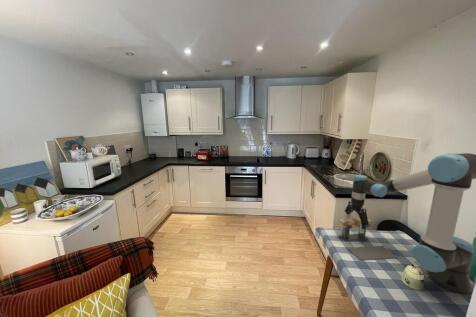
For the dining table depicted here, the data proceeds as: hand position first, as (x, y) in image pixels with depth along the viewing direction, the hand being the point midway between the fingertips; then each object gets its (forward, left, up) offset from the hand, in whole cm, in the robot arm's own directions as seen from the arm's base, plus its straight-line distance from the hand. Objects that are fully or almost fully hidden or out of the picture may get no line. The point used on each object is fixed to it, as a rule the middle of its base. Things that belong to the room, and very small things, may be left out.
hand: (354, 227), depth 133 cm
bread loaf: (0, 0, +2) cm, 2 cm away
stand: (0, 0, -7) cm, 7 cm away
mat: (0, +17, -7) cm, 18 cm away
